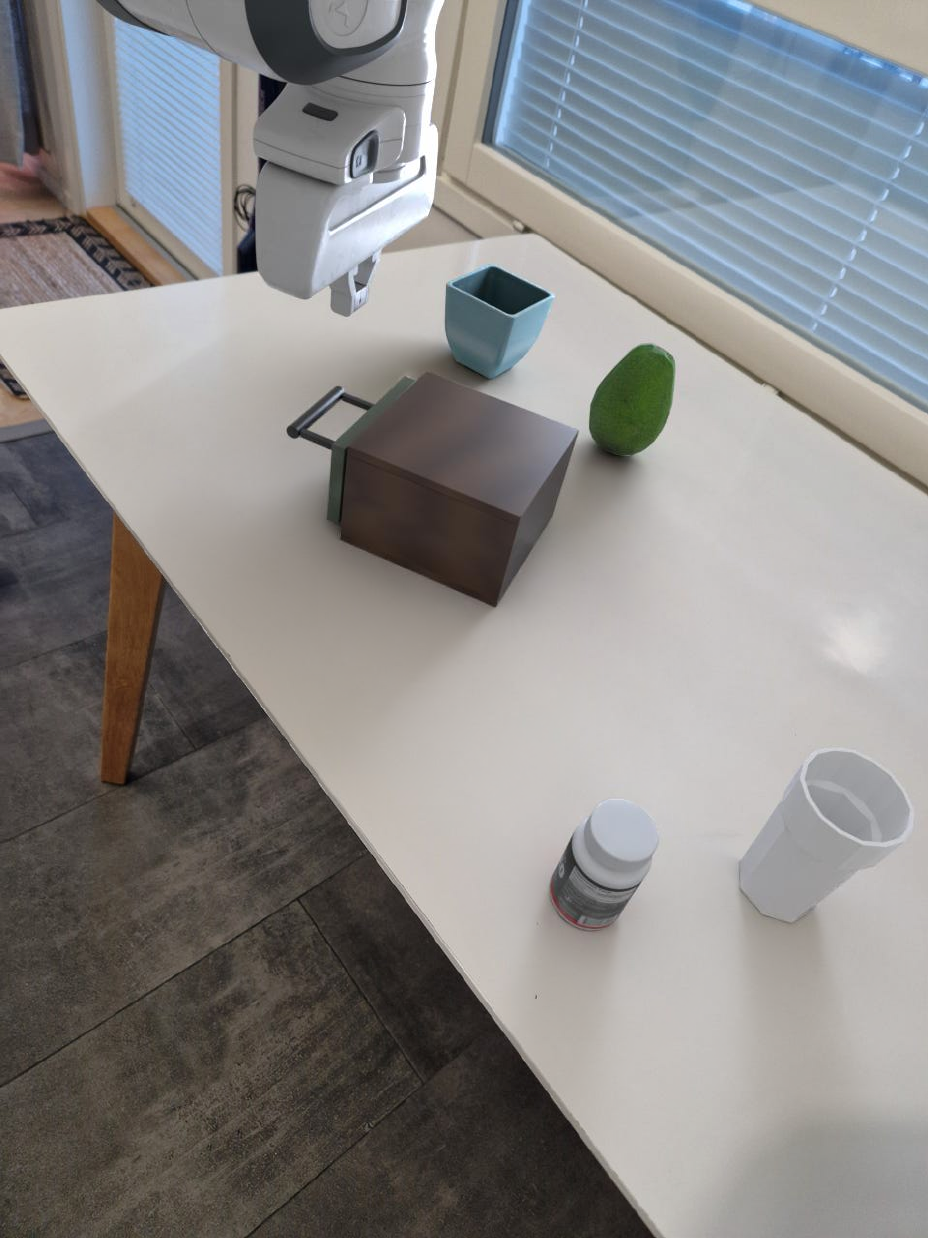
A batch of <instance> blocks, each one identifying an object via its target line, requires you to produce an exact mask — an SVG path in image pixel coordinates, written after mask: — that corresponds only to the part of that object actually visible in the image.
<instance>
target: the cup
mask: <svg viewBox="0 0 928 1238" xmlns="http://www.w3.org/2000/svg"><path fill="white" fill-rule="evenodd" d="M915 816H916V811H915V807H914V805H913V804H912V801H911V799H910V796H909V794H908V792H907V790H906V789H905V788H904V786H903V785H902V783H901V782H900V781H899V779H898V778H897V777H896V775H895V774H894V772H892V771H890V769H888V768H886V767H885V766H884V765H882V764H881V763H880V762H878V761H877V760H875V759H874V758H872V757H870V756H868V755H866V754H864V753H862V752H861V751H858V750H855V749H853V748H848V747H847V748H846V747H837V746H830V747H829V746H828V747H824V748H820V749H815V750H813V751H812V752H811V754H809V755H808V757H806V759H805V760H804V761H803V762H802V763H801V766H800V767H799V769H798V770H797V771H796V772H795V774H794V776H793V777H792V779H791V780H790V781H789V784H788V785H787V786H786V787H785V789H784V790H783V794H782V797H781V800H780V801H779V803H778V804H777V805H776V807H775V809H774V810H773V812H772V813H771V815H770V816H769V818H768V819H767V821H766V822H765V824H764V825H763V827H762V829H761V830H760V831H759V832H758V834H757V836H756V837H755V839H754V840H753V841H752V844H751V845H750V846H749V848H748V849H747V850H746V852H745V854H744V855H743V857H742V858H740V860H739V889H740V890H741V891H742V892H743V894H744V895H745V896H746V897H747V899H748V900H749V901H750V902H751V903H752V904H753V906H754V907H755V908H756V909H757V910H758V912H759V913H760V914H761V915H763V916H766V917H769V918H773V919H777V920H780V921H783V922H786V923H790V924H794V923H795V922H797V921H798V920H799V919H801V918H802V917H804V916H806V915H807V914H808V913H810V912H811V911H813V910H814V909H815V908H816V907H817V906H818V905H819V904H820V903H821V902H822V901H824V900H825V899H826V898H828V896H830V895H831V894H832V893H834V892H835V891H836V890H837V889H838V888H839V887H841V886H842V885H843V884H845V882H847V881H848V880H849V879H851V877H853V876H854V875H855V874H856V873H858V872H859V871H862V870H866V869H869V868H873V867H876V865H878V864H880V862H882V861H883V860H884V859H885V858H887V857H888V856H889V855H890V854H892V853H893V852H894V851H895V850H896V849H897V848H899V847H900V846H901V845H902V844H904V843H905V841H906V840H907V838H908V837H909V835H910V834H911V833H912V831H913V829H914V823H915Z"/></svg>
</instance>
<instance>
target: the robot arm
mask: <svg viewBox="0 0 928 1238" xmlns="http://www.w3.org/2000/svg"><path fill="white" fill-rule="evenodd" d="M95 2H97V4H99V5H100V6H101V7H102V8H103V9H104V10H105V11H106V12H108V13H109V15H111V16H113V17H114V18H116V19H118V20H120V21H122V22H123V23H126V24H128V25H130V26H134V27H138V28H141V29H143V30H147V31H150V32H154V33H156V34H160V35H163V36H166V37H171V38H175V39H177V40H180V41H182V42H185V43H186V44H189V45H191V46H193V47H196V48H198V49H200V50H203V51H205V52H207V53H209V54H210V55H214V56H216V57H218V58H221V59H223V60H225V61H228V62H230V63H233V64H236V65H239V66H241V67H243V68H246V69H248V70H250V71H253V72H254V73H257V74H259V75H262V76H264V77H267V78H269V79H272V80H275V81H278V82H282V83H286V85H285V87H284V88H283V90H282V91H281V92H280V94H279V95H278V96H277V97H276V99H274V101H273V102H272V103H270V105H269V106H268V107H267V108H266V109H265V110H264V111H263V112H262V113H261V115H259V117H258V118H257V119H256V121H255V122H254V125H253V129H252V148H253V152H254V155H255V156H256V157H258V158H261V159H263V160H265V161H266V162H265V163H264V164H263V166H262V168H261V170H260V172H259V175H258V178H257V182H256V190H255V213H254V214H255V215H254V216H255V218H254V219H255V224H254V225H255V254H256V256H255V257H256V266H257V271H258V274H259V276H260V277H261V279H262V280H263V282H264V283H265V285H266V286H268V287H269V288H271V289H273V290H276V291H278V292H281V293H283V294H285V295H288V296H292V297H294V298H297V299H300V300H303V301H305V300H309V299H311V298H312V297H314V296H315V295H317V294H319V293H320V292H321V291H323V290H324V289H325V288H327V287H329V290H330V302H329V303H330V305H329V307H330V309H331V311H332V312H333V313H334V314H337V315H340V316H341V317H345V318H348V317H350V316H351V315H353V314H354V313H356V312H357V310H359V309H360V308H361V307H363V306H365V305H366V304H367V303H368V302H369V299H370V290H371V289H370V287H371V283H372V281H373V279H374V276H375V273H376V271H377V269H378V266H379V262H380V260H381V258H382V256H381V255H382V249H383V248H385V247H387V246H388V245H390V244H391V243H393V242H394V241H395V240H397V239H398V238H399V237H401V236H403V235H404V234H405V233H407V232H408V231H410V230H411V229H413V228H415V227H416V226H417V225H418V224H420V223H421V222H423V221H425V220H426V219H427V218H428V216H429V214H430V211H431V209H432V206H433V203H434V199H435V191H436V180H437V169H438V168H437V167H438V153H439V152H438V151H439V134H438V130H437V127H436V125H435V124H434V122H431V117H432V112H433V111H432V110H433V101H434V95H435V85H436V77H437V66H438V65H437V54H436V46H435V45H436V44H435V39H436V38H435V37H436V27H437V23H438V19H439V16H440V13H441V10H442V8H443V5H444V3H445V0H95Z"/></svg>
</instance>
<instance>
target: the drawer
mask: <svg viewBox="0 0 928 1238" xmlns="http://www.w3.org/2000/svg"><path fill="white" fill-rule="evenodd" d="M416 380H417V379H414V378H412V377H409V376H407V375H404V376H403V377H402V378H401V379H400V380H399V381H398V382H396V384H394V385H393V387H391V388H390V389H389V390H388V391H387V392H386V393H385V394H384V395H383V396H382V397H381V398H380V399H378V401H376V402H375V403H372V402H370V401H368V400H365V399H363V398H361V397H358V396H356V395H353V394H350V393H348V392H346V390H345V389H344V387H343V386H341V385H335V386H334V387H333V388H332V389H330V390H329V391H328V392H326V394H325V395H323V396H322V397H321V398H320V399H318V400H317V401H316V402H315V403H314V404H313V405H311V406H310V407H309V408H308V409H306V411H305V412H303V413H302V414H300V416H299V417H297V418H296V419H295V420H294V421H293V422H291V423H290V424H289V425H288V426H287V427H286V434H287V435H288V437H289V438H290V439H293V440H296V439H298V438H301V439H303V440H306V441H308V442H310V443H313V444H316V445H318V446H320V447H322V448H325V449H328V450H330V451H331V453H330V467H329V481H328V495H327V510H326V521H328V522H331V523H333V524H335V525H341V520H342V509H343V497H344V486H345V475H346V463H347V453H348V446H349V445H350V444H351V443H352V442H353V441H354V440H355V439H356V438H357V437H358V436H359V435H360V434H361V433H362V432H363V431H364V430H365V429H366V428H367V427H368V426H369V425H371V424H372V423H373V422H374V421H375V420H376V419H377V418H378V417H379V416H380V415H381V414H382V413H383V412H384V411H385V410H386V409H387V408H388V407H389V406H390V405H391V404H392V403H393V402H394V401H395V400H396V399H398V398H399V397H400V396H401V395H402V394H403V393H404V392H405V391H406V390H407V389H408V388H409V387H410V386H411V385H412V384H413V383H414V382H415V381H416ZM340 401H342V402H344V403H346V404H350V405H352V406H354V407H357V408H359V409H362V410H364V411H366V412H365V413H364V414H362V416H360V417H359V418H358V419H357V420H356V421H355V422H354V423H352V425H351V426H349V428H347V429H346V430H345V431H344V432H343V433H342V434H341V435H340V436H339V437H338V438H337V439H336V440H334V439H331V438H328V437H326V436H323V435H321V434H319V433H317V432H315V431H312V430H309V429H310V428H311V427H312V426H313V425H314V424H315V423H317V422H318V421H319V420H320V419H321V418H322V417H323V416H325V415H326V414H327V413H328V412H329V411H330V410H331V409H332V408H334V407H335V406H336V405H337V404H338V403H339V402H340Z"/></svg>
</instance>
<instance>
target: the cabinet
mask: <svg viewBox="0 0 928 1238" xmlns="http://www.w3.org/2000/svg"><path fill="white" fill-rule="evenodd" d="M415 380H416V381H415V382H414V383H413V384H412V385H411V386H410V387H409V388H408V389H407V390H406V391H405V392H404V393H403V394H402V395H401V396H400V397H399V398H398V399H396V400H395V401H394V402H393V403H392V404H391V405H390V406H389V407H388V408H387V409H386V410H385V411H384V412H383V413H382V414H381V415H380V416H379V417H378V418H377V419H376V420H375V421H374V422H373V423H372V424H371V425H369V426H368V427H367V428H366V429H365V430H364V431H363V432H362V433H361V434H360V435H359V436H358V437H357V438H356V439H355V440H354V441H353V442H352V443H351V444H350V445H349V446H348V453H347V463H346V475H345V486H344V497H343V509H342V520H341V523H340V533H339V540H340V541H343V542H344V543H347V544H349V545H352V546H354V547H357V548H359V549H361V550H363V551H366V552H368V553H370V554H372V555H375V556H377V557H379V558H381V559H383V560H386V561H388V562H391V563H393V564H395V565H398V566H400V567H402V568H404V569H407V570H409V571H411V572H414V573H416V574H418V575H421V576H423V577H424V578H428V579H430V580H432V581H434V582H436V583H439V584H441V585H443V586H446V587H447V588H451V589H453V590H455V591H457V592H460V593H462V594H464V595H466V596H468V597H471V598H473V599H476V600H478V601H480V602H482V603H484V604H487V605H490V606H492V607H494V608H496V607H497V606H498V605H499V603H500V602H501V600H502V598H503V597H504V595H505V594H506V592H507V590H508V588H509V587H510V586H511V584H512V582H513V581H514V579H515V577H516V576H517V574H518V573H519V571H520V569H521V568H522V566H523V564H524V563H525V561H526V560H527V558H528V556H529V555H530V553H531V552H532V550H533V548H534V547H535V545H536V544H537V542H538V541H539V539H540V537H542V534H543V533H544V531H545V529H546V528H547V526H548V525H549V523H550V521H551V520H552V518H553V516H554V513H555V510H556V506H557V503H558V500H559V496H560V494H561V490H562V487H563V484H564V481H565V477H566V474H567V471H568V468H569V465H570V462H571V458H572V455H573V452H574V449H575V445H576V442H577V440H578V439H577V438H578V436H579V433H580V430H579V429H577V428H575V427H572V426H570V425H567V424H564V423H562V422H559V421H557V420H555V419H551V418H549V417H547V416H544V415H542V414H539V413H536V412H534V411H531V410H528V409H526V408H523V407H521V406H518V405H516V404H513V403H510V402H507V401H506V400H502V399H501V398H497V397H495V396H492V395H490V394H487V393H485V392H482V391H480V390H477V389H476V388H475V389H474V388H472V387H470V386H467V385H464V384H462V383H459V382H456V381H454V380H452V379H449V378H446V377H443V376H441V375H439V374H436V373H433V372H432V371H431V372H430V371H429V370H425V371H424V372H423V373H422V374H421V375H420V376H419V377H418V378H417V379H415Z"/></svg>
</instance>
